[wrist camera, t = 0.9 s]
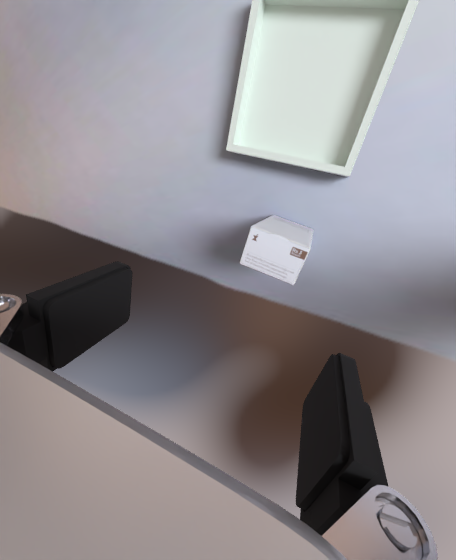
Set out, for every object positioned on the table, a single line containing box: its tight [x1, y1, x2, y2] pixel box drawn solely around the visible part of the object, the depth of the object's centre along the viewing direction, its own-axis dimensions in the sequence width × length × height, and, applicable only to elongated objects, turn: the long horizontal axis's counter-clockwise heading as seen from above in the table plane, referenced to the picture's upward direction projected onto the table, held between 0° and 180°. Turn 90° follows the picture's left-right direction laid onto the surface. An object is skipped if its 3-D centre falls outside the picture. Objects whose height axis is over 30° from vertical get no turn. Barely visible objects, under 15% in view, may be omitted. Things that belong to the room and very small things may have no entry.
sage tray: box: [226, 0, 419, 177], centre depth 26 cm, size 15×15×2 cm
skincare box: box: [240, 215, 313, 285], centre depth 28 cm, size 6×4×12 cm
